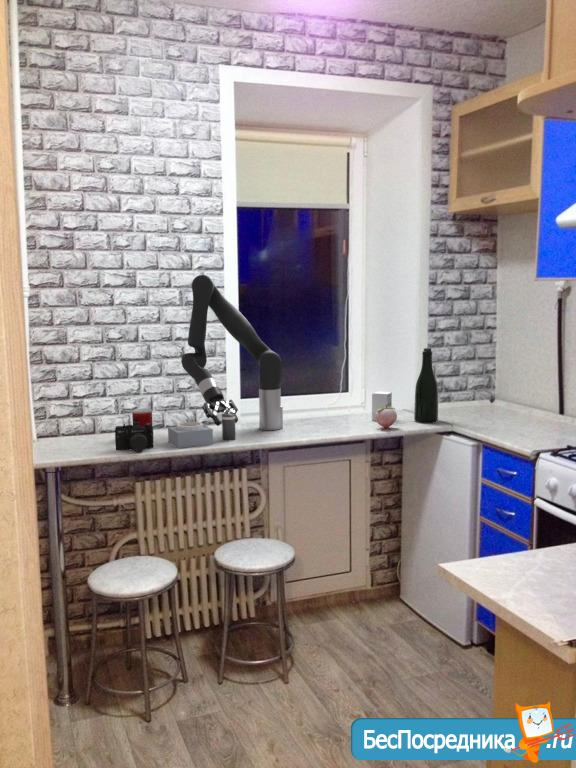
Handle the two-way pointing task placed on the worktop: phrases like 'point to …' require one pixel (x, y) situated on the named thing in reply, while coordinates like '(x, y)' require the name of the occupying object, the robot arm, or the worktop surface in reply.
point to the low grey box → (190, 434)
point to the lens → (228, 426)
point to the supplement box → (380, 402)
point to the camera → (134, 437)
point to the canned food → (142, 416)
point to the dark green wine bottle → (426, 391)
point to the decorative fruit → (386, 416)
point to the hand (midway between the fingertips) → (228, 423)
